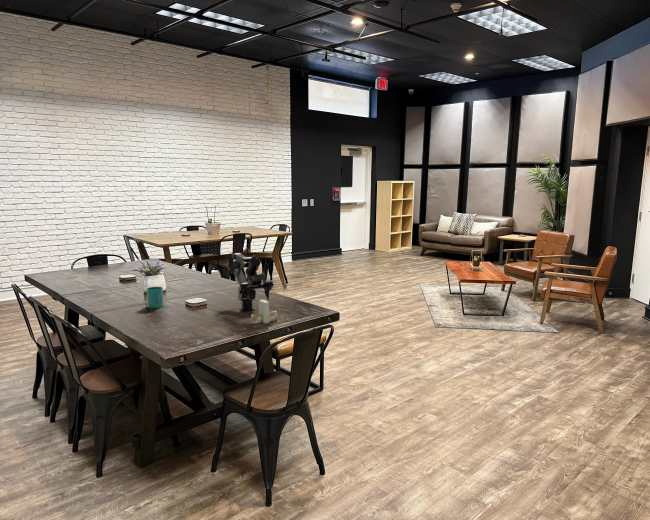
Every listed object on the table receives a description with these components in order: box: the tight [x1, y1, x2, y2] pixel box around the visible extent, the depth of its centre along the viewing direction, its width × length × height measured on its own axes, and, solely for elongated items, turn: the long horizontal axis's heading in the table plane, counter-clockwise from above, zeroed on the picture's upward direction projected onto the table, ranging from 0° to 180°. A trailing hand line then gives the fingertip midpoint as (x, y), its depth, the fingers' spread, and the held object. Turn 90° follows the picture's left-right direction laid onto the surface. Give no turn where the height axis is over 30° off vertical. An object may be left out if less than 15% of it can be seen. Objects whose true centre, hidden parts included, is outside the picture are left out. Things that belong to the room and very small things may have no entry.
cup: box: [146, 286, 165, 309], centre depth 284 cm, size 9×12×11 cm
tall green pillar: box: [258, 299, 270, 324], centre depth 254 cm, size 7×3×11 cm, turn 29°
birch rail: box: [250, 310, 278, 324], centre depth 255 cm, size 14×2×4 cm, turn 119°
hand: (260, 300), depth 258 cm, fingers open, 9 cm apart
